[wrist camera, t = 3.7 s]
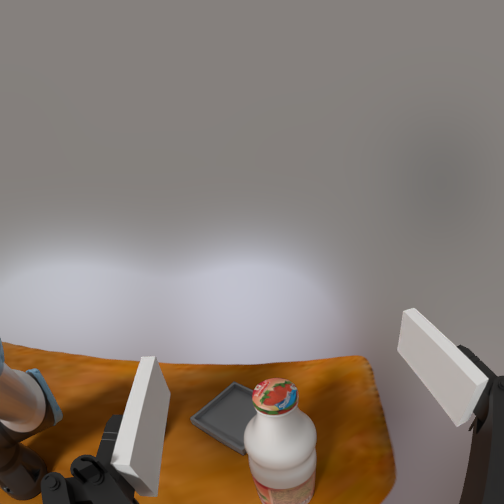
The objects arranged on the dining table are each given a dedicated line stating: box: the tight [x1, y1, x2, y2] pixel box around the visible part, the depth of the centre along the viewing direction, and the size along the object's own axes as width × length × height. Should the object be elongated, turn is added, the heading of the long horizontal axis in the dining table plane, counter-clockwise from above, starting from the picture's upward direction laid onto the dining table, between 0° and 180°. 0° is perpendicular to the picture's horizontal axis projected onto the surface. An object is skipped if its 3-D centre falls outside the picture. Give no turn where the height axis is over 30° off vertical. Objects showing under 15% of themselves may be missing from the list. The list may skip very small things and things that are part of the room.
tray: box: [190, 382, 257, 456], centre depth 56 cm, size 15×15×2 cm
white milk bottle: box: [244, 378, 317, 504], centre depth 33 cm, size 9×9×28 cm
